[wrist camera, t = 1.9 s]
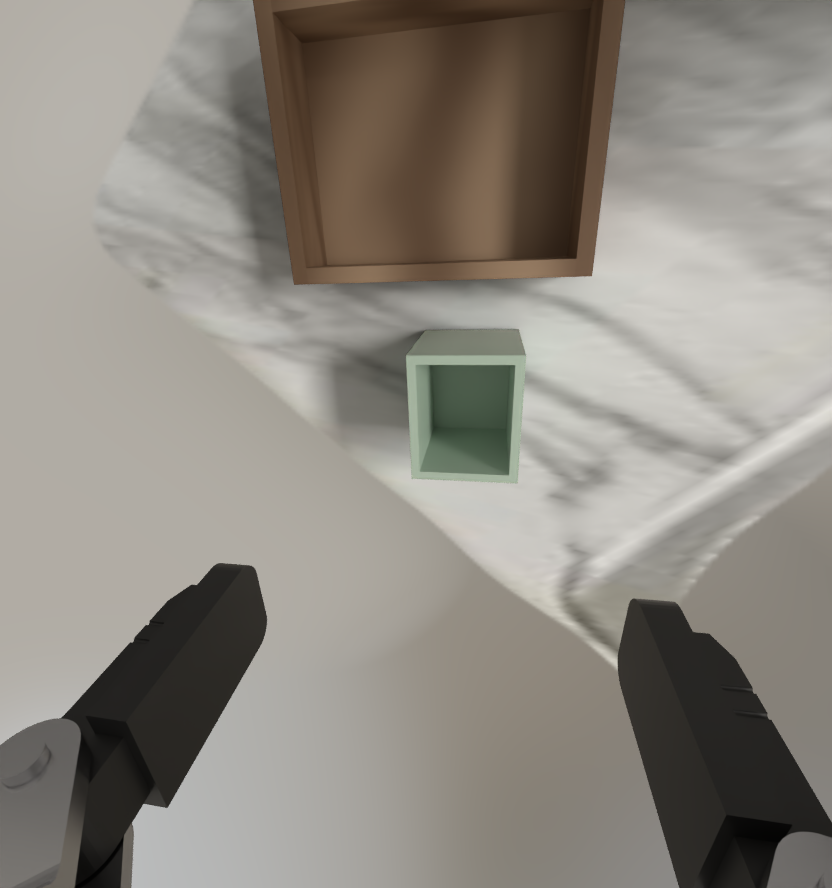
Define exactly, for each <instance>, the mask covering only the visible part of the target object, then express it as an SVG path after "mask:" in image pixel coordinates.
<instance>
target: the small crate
mask: <svg viewBox="0 0 832 888" xmlns="http://www.w3.org/2000/svg"><path fill="white" fill-rule="evenodd" d="M525 363H526V354H525V350H524V347H523V343H522V340H521V336H520V333H519V329H497V330H425V332H424V333H423V334H422V335H421V337H420V338H419V339H418V341H417V342H416V343H415V344H414V346H413V347H412V348H411V350H410V351H409V352H408V353H407V355H406V369H407V389H408V410H409V431H410V452H411V473H412V479H431V480H453V481H475V482H497V483H518V468H519V453H520V438H521V423H522V408H523V393H524V378H525Z"/></svg>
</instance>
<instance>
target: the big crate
mask: <svg viewBox="0 0 832 888" xmlns="http://www.w3.org/2000/svg"><path fill="white" fill-rule="evenodd" d="M253 4H254V11H255V18H256V25H257V32H258V39H259V46H260V52H261V59H262V66H263V73H264V80H265V87H266V94H267V101H268V108H269V115H270V121H271V128H272V135H273V142H274V149H275V156H276V163H277V170H278V177H279V183H280V190H281V197H282V204H283V211H284V218H285V225H286V232H287V239H288V246H289V252H290V259H291V266H292V273H293V280H294V285H298V284H333V283H367V282H402V281H437V280H472V279H507V278H542V277H577V276H592V271H593V263H594V255H595V246H596V238H597V230H598V222H599V213H600V205H601V197H602V188H603V180H604V172H605V164H606V155H607V147H608V139H609V130H610V122H611V114H612V106H613V97H614V89H615V81H616V72H617V64H618V56H619V48H620V39H621V31H622V23H623V14H624V6H625V0H253Z"/></svg>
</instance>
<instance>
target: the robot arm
mask: <svg viewBox="0 0 832 888" xmlns="http://www.w3.org/2000/svg"><path fill="white" fill-rule="evenodd" d="M266 625H267V616H266V611H265V607H264V602H263V599H262V594H261V590H260V586H259V581H258V577H257V573H256V570H255V569H254V567H252V566H249V565H237V564H224V563H219V564H216V565H215V566H213V567H212V568H211V570H210V571H209V572H208V573H207V574H206V575H205V576H204V578H203V579H202V580H201V581H200V582H199V583H198V585H190V586H189V587H188V588H186V589H185V590H183V591H182V592H180V593H179V594H177V595H176V596H174V597H173V598H171V599H170V600H168V601H167V602H166V604H165V605H164V606H163V607H162V608H161V609H160V610H159V611H158V612H157V613H156V615H155V616H154V617H153V618H152V619H151V620H150V623H149V625H146V626H145V627H144V628H143V629H142V630H141V631H140V632H139V633H138V634H137V636H136V637H135V639H134V642H133V643H129V644H128V646H127V647H126V648H125V649H124V650H123V651H122V652H121V653H120V655H118V657H117V658H116V659H115V660H114V661H113V662H112V663H111V665H109V667H108V668H107V669H106V670H105V671H104V672H103V673H102V674H101V675H100V676H99V678H98V679H97V680H96V681H95V682H94V683H93V684H92V685H91V686H90V688H89V689H88V690H87V691H86V692H85V693H84V694H83V695H82V696H81V697H80V699H79V700H78V701H77V702H76V703H75V704H74V705H73V706H72V707H71V709H70V710H69V711H68V712H67V713H66V714H65V715H64V716H63V717H62V718H59V719H51V720H46V721H43V722H40V723H37V724H34V725H32V726H30V727H28V728H26V729H24V730H22V731H20V732H19V733H17V734H15V735H14V736H12V737H11V738H9V739H8V740H7V741H5V742H4V743H3V744H1V745H0V888H131V883H132V861H133V840H134V831H133V825H132V821H133V820H134V818H135V817H136V815H137V813H138V812H139V810H140V809H141V807H142V805H143V804H149V805H154V806H160V807H165V808H167V807H168V806H169V804H170V802H171V801H172V799H173V797H174V795H175V793H176V792H177V790H178V789H179V787H180V785H181V783H182V782H183V780H184V778H185V776H186V775H187V773H188V771H189V769H190V768H191V766H192V764H193V762H194V761H195V759H196V757H197V755H198V754H199V752H200V750H201V748H202V747H203V745H204V743H205V741H206V740H207V738H208V736H209V735H210V733H211V731H212V729H213V728H214V726H215V724H216V722H217V721H218V719H219V717H220V715H221V714H222V711H223V710H224V708H225V707H226V705H227V703H228V701H229V700H230V698H231V696H232V694H233V693H234V691H235V689H236V687H237V686H238V684H239V682H240V680H241V678H242V677H243V675H244V673H245V672H246V670H247V668H248V667H249V665H250V663H251V661H252V659H253V658H254V656H255V654H256V652H257V651H258V649H259V647H260V645H261V644H262V641H263V639H264V636H265V632H266ZM618 674H619V681H620V686H621V689H622V693H623V696H624V700H625V703H626V707H627V710H628V713H629V717H630V720H631V724H632V726H633V731H634V734H635V737H636V741H637V744H638V748H639V751H640V754H641V758H642V761H643V765H644V768H645V772H646V775H647V778H648V782H649V785H650V789H651V792H652V795H653V799H654V802H655V806H656V809H657V813H658V816H659V820H660V823H661V826H662V830H663V833H664V837H665V840H666V844H667V847H668V850H669V854H670V857H671V861H672V864H673V868H674V871H675V874H676V878H677V881H678V885H679V888H832V822H831V821H830V819H829V817H828V816H827V814H826V812H825V811H824V809H823V807H822V805H821V804H820V802H819V800H818V799H817V797H816V795H815V793H814V792H813V790H812V789H811V787H810V785H809V783H808V782H807V780H806V778H805V776H804V775H803V773H802V771H801V770H800V768H799V766H798V764H797V763H796V761H795V759H794V758H793V756H792V754H791V753H790V751H789V749H788V747H787V746H786V744H785V742H784V741H783V739H782V738H781V736H780V734H779V732H778V730H777V729H776V727H775V725H774V724H773V722H772V720H769V719H768V717H767V712H766V710H765V708H764V707H763V705H762V703H761V702H760V700H759V698H758V696H757V695H756V694H754V693H753V691H752V686H751V684H750V683H749V681H748V679H747V678H746V676H745V674H744V673H743V671H742V669H741V668H740V666H739V664H738V662H737V661H736V659H735V658H734V657H733V656H732V655H731V654H730V653H729V652H728V651H727V650H726V649H725V648H723V647H722V646H721V645H720V644H719V643H718V642H717V641H716V640H715V639H714V638H713V637H712V636H711V635H710V634H706V633H695V632H693V631H692V629H691V628H690V626H689V624H688V622H687V620H686V618H685V616H684V614H683V612H682V610H681V608H680V607H679V606H678V604H677V603H675V602H670V601H658V600H646V599H632V600H631V601H630V603H629V607H628V611H627V616H626V620H625V625H624V629H623V634H622V638H621V643H620V647H619V652H618Z"/></svg>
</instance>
